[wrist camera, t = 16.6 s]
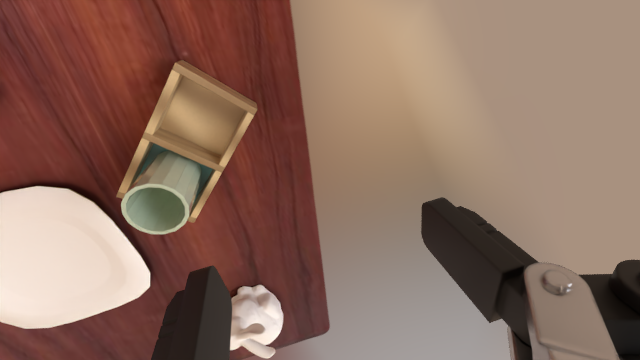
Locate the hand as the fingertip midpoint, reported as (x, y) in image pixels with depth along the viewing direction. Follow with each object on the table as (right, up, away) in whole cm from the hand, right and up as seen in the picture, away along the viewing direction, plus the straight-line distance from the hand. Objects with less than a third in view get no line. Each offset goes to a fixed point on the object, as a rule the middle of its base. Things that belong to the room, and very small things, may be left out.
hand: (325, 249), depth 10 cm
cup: (-19, +4, +25) cm, 31 cm away
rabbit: (-13, -18, +39) cm, 45 cm away
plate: (-37, -8, +27) cm, 46 cm away
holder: (-17, +7, +24) cm, 30 cm away
